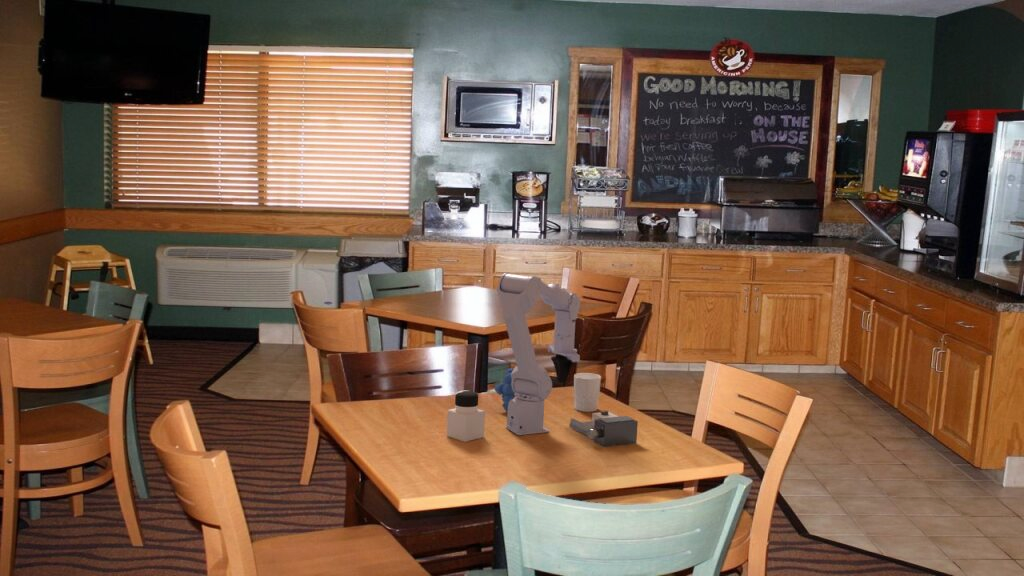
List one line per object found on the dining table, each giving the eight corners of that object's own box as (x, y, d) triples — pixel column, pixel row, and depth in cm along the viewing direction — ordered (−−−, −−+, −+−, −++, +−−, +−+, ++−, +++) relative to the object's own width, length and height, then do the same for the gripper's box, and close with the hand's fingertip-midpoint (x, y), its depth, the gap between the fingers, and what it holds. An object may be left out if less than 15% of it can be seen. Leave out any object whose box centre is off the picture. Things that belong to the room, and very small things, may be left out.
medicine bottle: (484, 437, 253) (486, 392, 251) (465, 442, 248) (466, 396, 246) (465, 431, 258) (467, 387, 256) (445, 436, 253) (447, 391, 251)
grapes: (495, 403, 287) (497, 363, 285) (518, 404, 287) (520, 365, 285) (491, 413, 276) (493, 372, 274) (515, 415, 275) (517, 374, 273)
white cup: (589, 414, 280) (591, 380, 278) (567, 408, 284) (568, 375, 283) (604, 409, 286) (606, 375, 285) (581, 404, 291) (583, 371, 289)
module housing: (593, 448, 247) (595, 424, 246) (557, 428, 264) (558, 405, 263) (636, 443, 253) (637, 419, 252) (598, 423, 270) (599, 401, 269)
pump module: (601, 436, 254) (602, 415, 253) (590, 431, 259) (592, 410, 258) (617, 434, 256) (618, 413, 256) (606, 429, 261) (608, 408, 260)
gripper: (590, 338, 267) (587, 386, 269) (564, 329, 279) (561, 375, 281) (567, 340, 263) (565, 388, 265) (542, 330, 276) (540, 376, 278)
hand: (562, 381), depth 273 cm, fingers closed
